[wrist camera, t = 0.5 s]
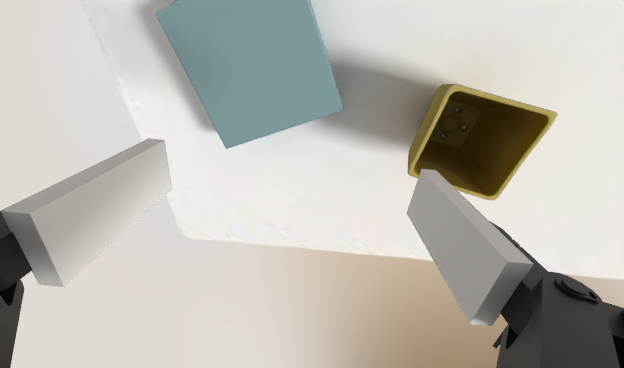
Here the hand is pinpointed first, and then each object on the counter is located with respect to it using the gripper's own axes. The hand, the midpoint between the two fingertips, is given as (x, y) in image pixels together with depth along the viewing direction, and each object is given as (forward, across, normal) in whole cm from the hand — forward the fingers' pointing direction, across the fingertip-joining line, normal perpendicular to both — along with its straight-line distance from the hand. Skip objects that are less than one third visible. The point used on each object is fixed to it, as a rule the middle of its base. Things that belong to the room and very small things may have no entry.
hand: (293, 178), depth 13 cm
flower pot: (+19, +17, +1) cm, 25 cm away
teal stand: (+23, -6, +5) cm, 24 cm away
